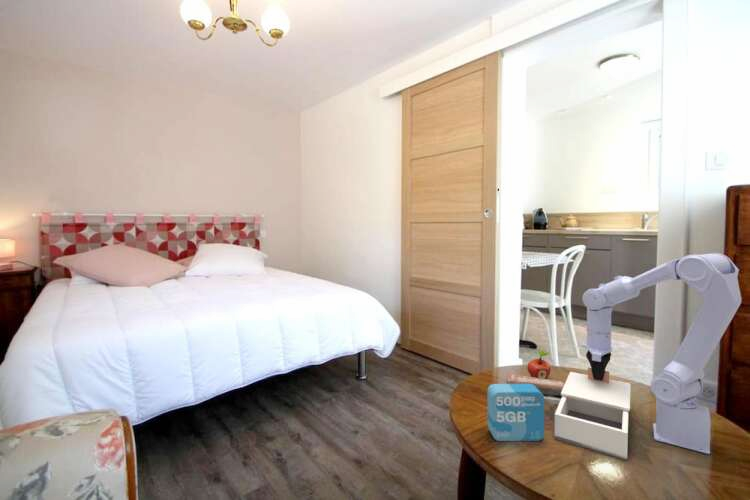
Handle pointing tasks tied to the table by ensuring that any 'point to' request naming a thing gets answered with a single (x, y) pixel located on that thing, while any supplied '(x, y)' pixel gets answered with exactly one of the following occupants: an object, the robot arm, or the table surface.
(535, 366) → the apple
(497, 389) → the data package
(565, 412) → the carton
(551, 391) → the packaged product
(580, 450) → the table surface
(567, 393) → the carton lid
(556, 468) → the table surface
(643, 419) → the table surface
